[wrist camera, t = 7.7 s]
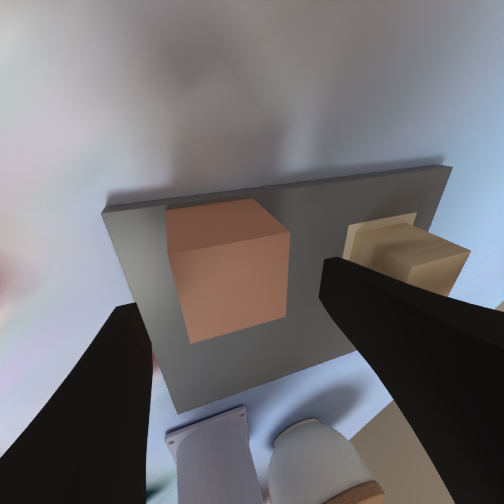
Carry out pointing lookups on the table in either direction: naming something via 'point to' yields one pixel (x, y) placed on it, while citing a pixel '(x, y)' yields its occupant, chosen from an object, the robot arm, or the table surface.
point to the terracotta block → (227, 266)
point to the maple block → (410, 256)
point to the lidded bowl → (319, 468)
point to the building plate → (299, 276)
